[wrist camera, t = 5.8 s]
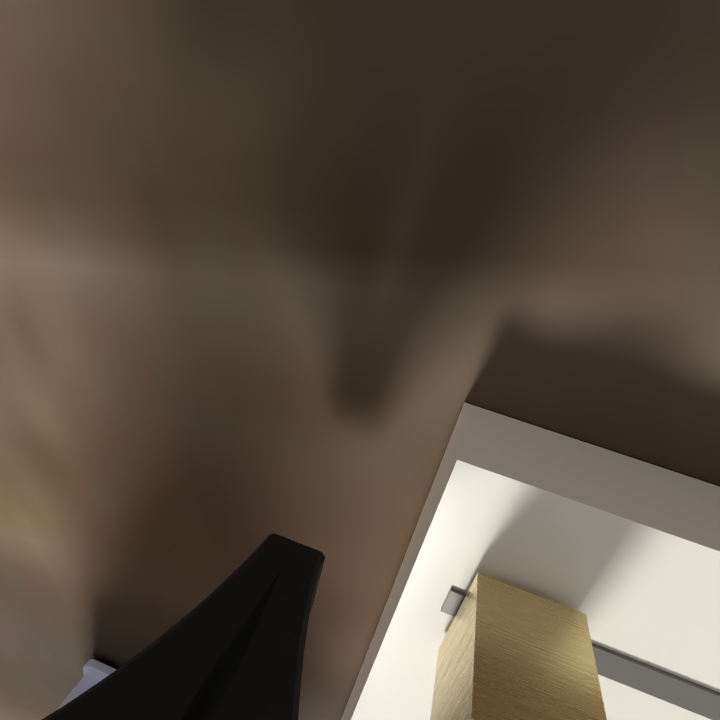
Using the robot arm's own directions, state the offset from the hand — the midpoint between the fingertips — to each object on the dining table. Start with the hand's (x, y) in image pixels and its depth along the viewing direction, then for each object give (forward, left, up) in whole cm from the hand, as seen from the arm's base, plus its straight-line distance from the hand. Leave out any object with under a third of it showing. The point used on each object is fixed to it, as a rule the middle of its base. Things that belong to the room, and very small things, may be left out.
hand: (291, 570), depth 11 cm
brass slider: (+5, 0, -1) cm, 5 cm away
